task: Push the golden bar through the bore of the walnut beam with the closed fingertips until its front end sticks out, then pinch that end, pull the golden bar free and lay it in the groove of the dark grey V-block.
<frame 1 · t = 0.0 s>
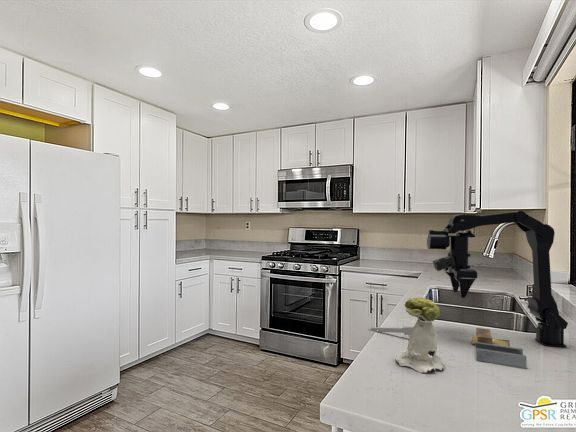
hand: (458, 294, 120), 15 cm above the counter, tool pointing down, fingers open, 9 cm apart
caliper: (395, 337, 120), on the counter
golden bar: (490, 346, 111), on the counter
walnut beam: (483, 345, 112), on the counter
ceramic tree figurine: (419, 364, 97), on the counter
v block: (499, 360, 100), on the counter
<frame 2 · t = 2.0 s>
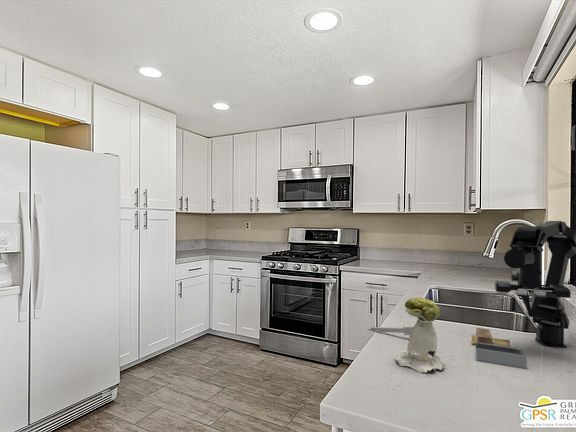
hand: (530, 316, 107), 11 cm above the counter, tool pointing down, fingers closed
nothing on the counter moved.
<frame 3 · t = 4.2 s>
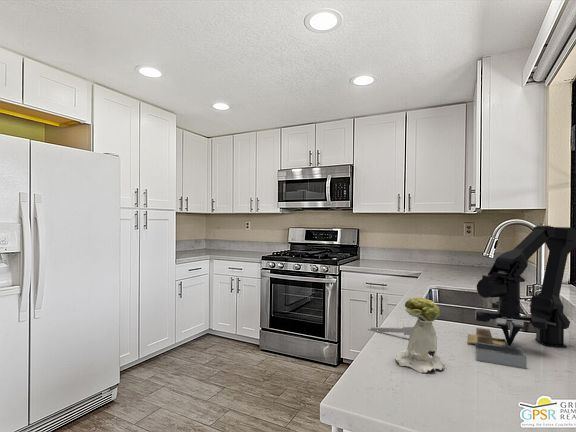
hand: (509, 345, 109), 1 cm above the counter, tool pointing down, fingers closed
golden bar: (485, 345, 112), on the counter, tilted 18°, touching gripper
everything else where it was.
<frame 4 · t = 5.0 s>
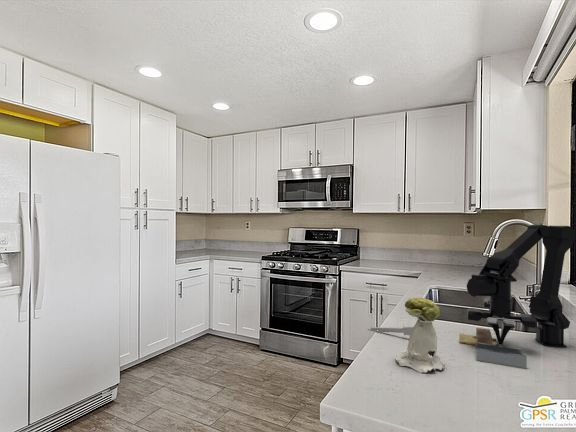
hand: (500, 344, 110), 1 cm above the counter, tool pointing down, fingers closed
golden bar: (477, 344, 113), on the counter, tilted 19°
everything else where it was.
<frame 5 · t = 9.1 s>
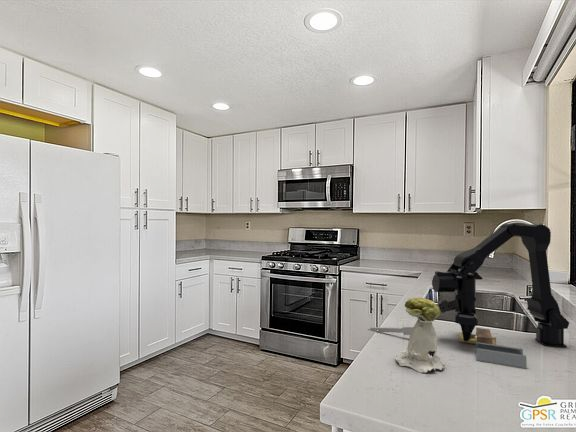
hand: (465, 339, 114), 1 cm above the counter, tool pointing down, fingers closed on golden bar, 3 cm apart
golden bar: (477, 344, 113), on the counter, tilted 5°, touching gripper
everything else where it was.
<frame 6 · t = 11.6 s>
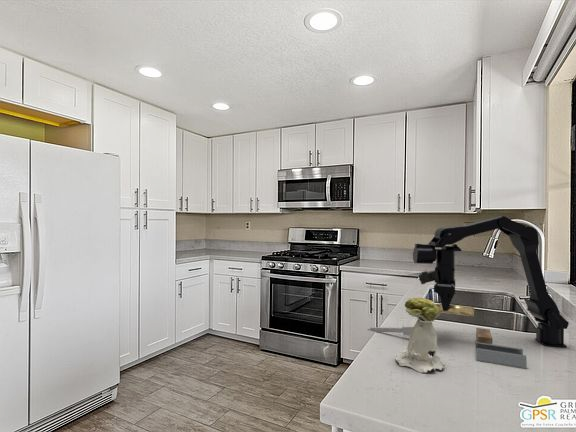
hand: (445, 309, 117), 10 cm above the counter, tool pointing down, fingers closed on golden bar, 3 cm apart
golden bar: (456, 314, 116), point 9 cm above the counter, tilted 5°, touching gripper
everything else where it was.
when the fingers open (4 cm above the counter, at t = 14.4 s): golden bar drops 1 cm, resting on v block.
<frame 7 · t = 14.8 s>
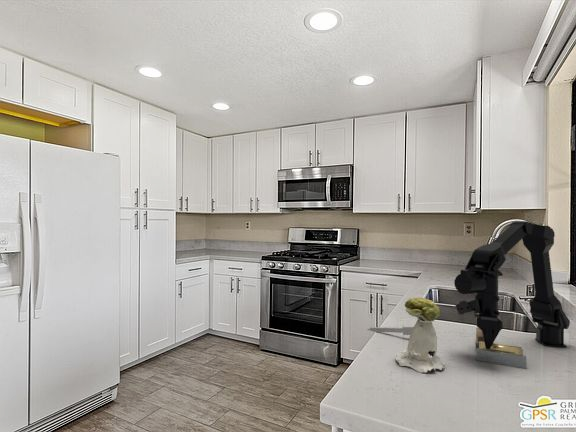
hand: (486, 344, 102), 4 cm above the counter, tool pointing down, fingers open, 7 cm apart
golden bar: (499, 354, 100), point 2 cm above the counter, tilted 8°, touching v block
everything else where it was.
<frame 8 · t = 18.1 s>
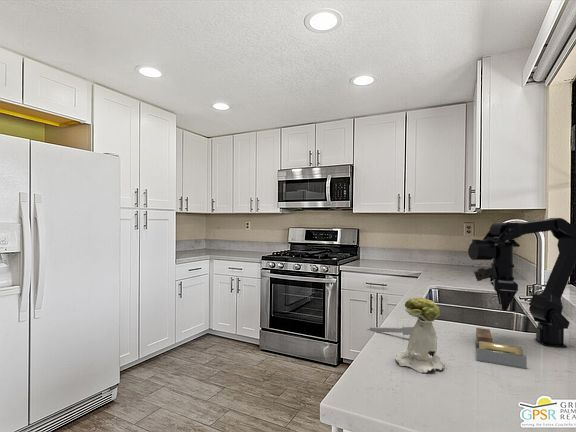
hand: (502, 307, 114), 12 cm above the counter, tool pointing down, fingers open, 9 cm apart
nothing on the counter moved.
at the end: golden bar 0.2 cm off-centre on the v block, point 1.6 cm above the v block's base; golden bar touching v block; the gripper is holding nothing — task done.
